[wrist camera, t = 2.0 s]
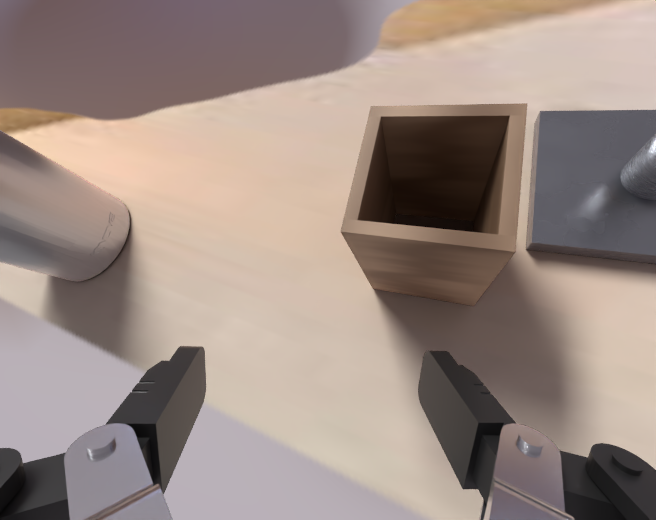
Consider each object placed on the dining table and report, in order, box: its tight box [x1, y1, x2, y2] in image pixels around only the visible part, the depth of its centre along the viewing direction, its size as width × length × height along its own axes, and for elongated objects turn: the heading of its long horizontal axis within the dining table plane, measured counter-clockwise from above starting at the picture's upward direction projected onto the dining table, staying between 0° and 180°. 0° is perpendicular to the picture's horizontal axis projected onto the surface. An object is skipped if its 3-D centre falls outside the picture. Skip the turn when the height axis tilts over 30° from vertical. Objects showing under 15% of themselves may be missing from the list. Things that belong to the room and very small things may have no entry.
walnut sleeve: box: [341, 104, 527, 306], centre depth 18 cm, size 7×7×10 cm
